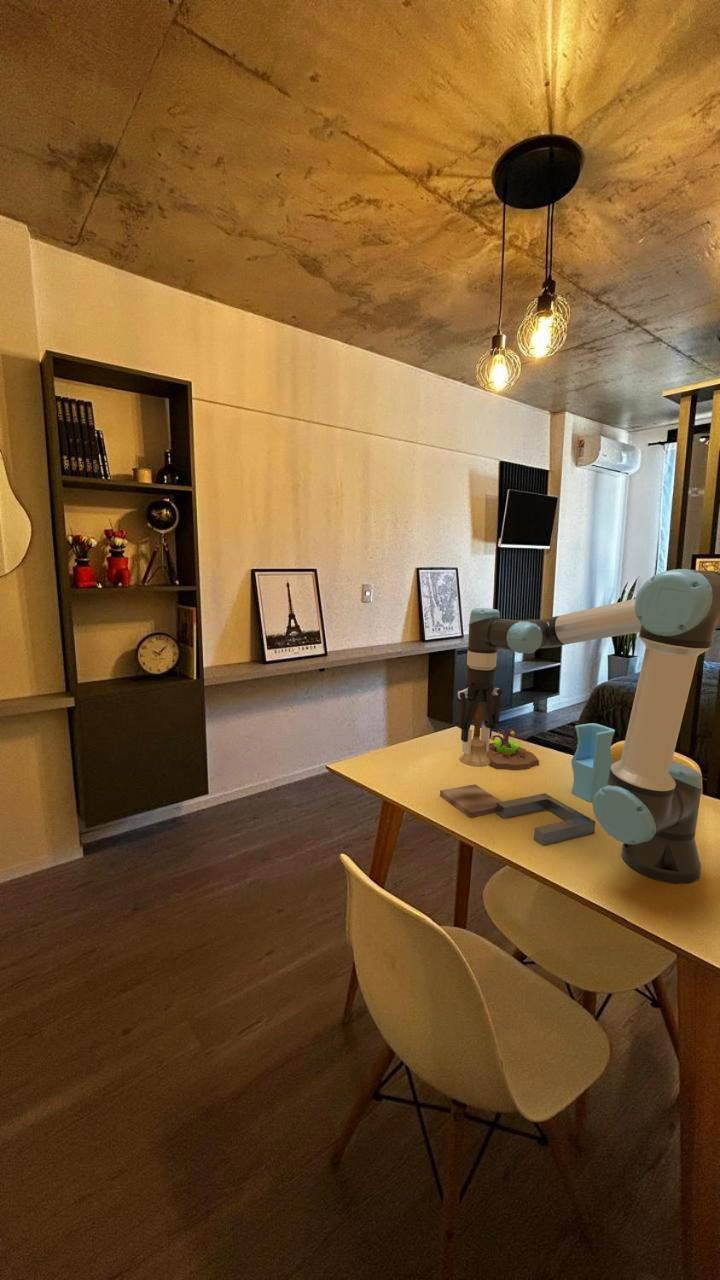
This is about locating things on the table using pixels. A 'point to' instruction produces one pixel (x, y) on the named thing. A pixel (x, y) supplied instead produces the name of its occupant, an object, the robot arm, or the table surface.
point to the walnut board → (471, 800)
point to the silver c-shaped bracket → (558, 831)
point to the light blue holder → (591, 760)
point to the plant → (509, 754)
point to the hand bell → (476, 744)
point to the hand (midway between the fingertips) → (475, 751)
